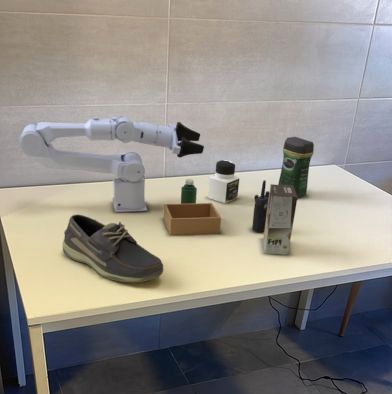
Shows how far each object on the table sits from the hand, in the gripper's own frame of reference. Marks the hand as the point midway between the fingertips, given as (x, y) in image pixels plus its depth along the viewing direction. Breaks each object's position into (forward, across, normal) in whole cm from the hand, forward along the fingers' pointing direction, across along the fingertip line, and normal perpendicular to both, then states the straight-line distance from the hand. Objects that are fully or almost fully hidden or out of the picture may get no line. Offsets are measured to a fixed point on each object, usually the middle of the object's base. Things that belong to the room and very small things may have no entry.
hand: (201, 143), depth 158 cm
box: (-1, -19, +16) cm, 25 cm away
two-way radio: (+18, -21, +13) cm, 30 cm away
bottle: (0, -7, +19) cm, 20 cm away
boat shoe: (-25, -42, +16) cm, 52 cm away
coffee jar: (+37, +8, +16) cm, 41 cm away
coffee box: (+19, -33, +10) cm, 39 cm away
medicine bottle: (+13, +3, +19) cm, 23 cm away
